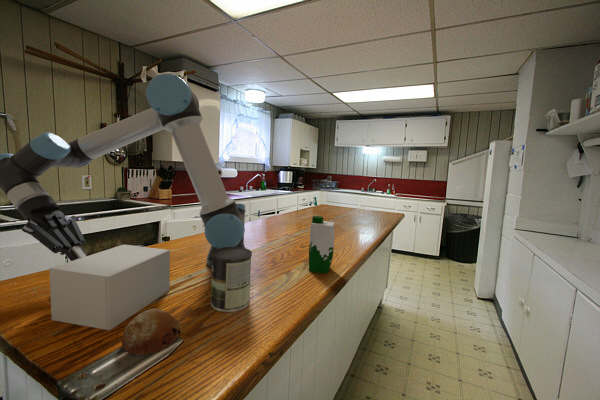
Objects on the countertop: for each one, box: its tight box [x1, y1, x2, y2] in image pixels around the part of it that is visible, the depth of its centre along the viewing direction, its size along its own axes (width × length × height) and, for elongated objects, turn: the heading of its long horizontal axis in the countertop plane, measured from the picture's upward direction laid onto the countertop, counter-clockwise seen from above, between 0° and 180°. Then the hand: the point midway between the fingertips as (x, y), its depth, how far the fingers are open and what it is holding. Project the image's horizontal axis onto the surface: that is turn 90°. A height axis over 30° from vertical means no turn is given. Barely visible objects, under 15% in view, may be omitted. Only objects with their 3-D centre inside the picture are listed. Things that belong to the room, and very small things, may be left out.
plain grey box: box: [49, 244, 171, 331], centre depth 68 cm, size 15×20×12 cm
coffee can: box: [210, 247, 253, 313], centre depth 72 cm, size 10×10×14 cm
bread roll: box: [120, 308, 182, 355], centre depth 55 cm, size 10×10×8 cm
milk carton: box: [308, 215, 336, 275], centre depth 100 cm, size 9×9×20 cm
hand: (87, 267), depth 74 cm, fingers closed
